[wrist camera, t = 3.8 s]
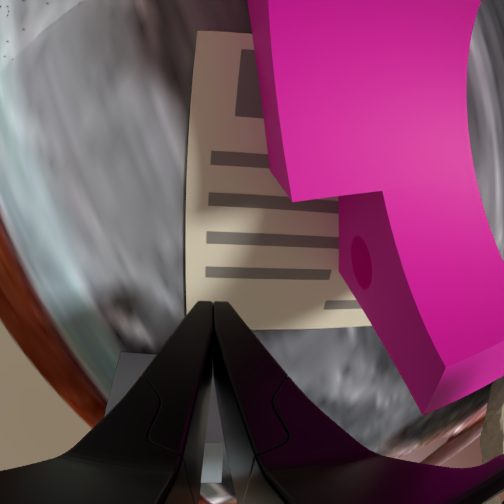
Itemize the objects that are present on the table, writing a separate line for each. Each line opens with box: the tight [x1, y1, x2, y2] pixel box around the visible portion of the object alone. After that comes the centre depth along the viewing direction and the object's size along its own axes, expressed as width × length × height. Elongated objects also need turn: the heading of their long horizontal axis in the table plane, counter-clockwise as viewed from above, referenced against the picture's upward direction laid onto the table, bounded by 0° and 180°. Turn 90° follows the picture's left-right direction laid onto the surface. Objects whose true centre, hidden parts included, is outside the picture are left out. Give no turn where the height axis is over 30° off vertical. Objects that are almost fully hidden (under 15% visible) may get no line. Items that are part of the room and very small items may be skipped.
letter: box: [186, 31, 372, 330], centre depth 12 cm, size 12×10×1 cm
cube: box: [104, 352, 224, 483], centre depth 14 cm, size 5×5×5 cm
